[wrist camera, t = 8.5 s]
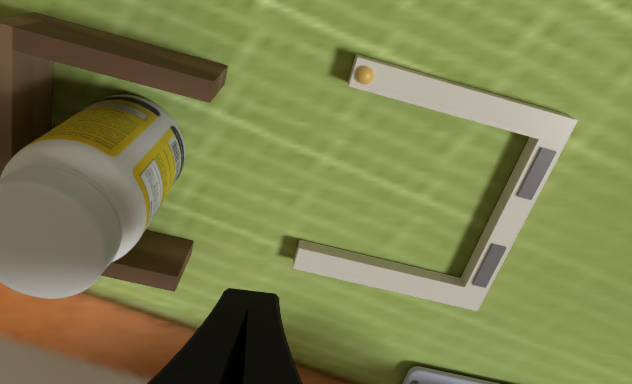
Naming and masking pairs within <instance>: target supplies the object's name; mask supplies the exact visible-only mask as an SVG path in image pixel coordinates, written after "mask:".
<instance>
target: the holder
mask: <svg viewBox="0 0 632 384" xmlns="http://www.w3.org/2000/svg"><path fill="white" fill-rule="evenodd" d="M54 61H55V62H59V63H63V64H66V65H70V66H74V67H78V68H81V69H85V70H89V71H93V72H97V73H100V74H104V75H108V76H112V77H115V78H119V79H123V80H127V81H130V82H134V83H138V84H142V85H145V86H149V87H153V88H157V89H160V90H164V91H168V92H172V93H175V94H179V95H183V96H187V97H190V98H194V99H198V100H202V101H205V102H209V103H210V102H211V101H212V99H213V98H214V97H215V96H216V94H217V93H218V92H219V91H220V89H221V88H222V87H223V85H224V83H225V78H226V73H227V68H228V66H226V65H222V64H219V63H215V62H211V61H208V60H204V59H201V58H197V57H193V56H190V55H186V54H182V53H179V52H175V51H172V50H168V49H164V48H161V47H157V46H153V45H150V44H146V43H143V42H139V41H135V40H132V39H128V38H125V37H121V36H117V35H114V34H110V33H106V32H103V31H99V30H96V29H92V28H88V27H85V26H81V25H77V24H74V23H70V22H67V21H63V20H59V19H56V18H52V17H48V16H45V15H41V14H38V13H30V14H24V15H18V16H12V17H6V18H0V177H1V174H2V172H3V170H4V168H5V166H6V165H7V163H8V162H9V161H10V160H11V159H12V157H13V156H14V155H15V154H17V153H18V152H19V151H20V150H21V149H23V148H24V147H25V146H27V145H28V144H30V143H32V142H33V141H35V140H36V139H38V138H40V137H41V136H43V135H44V134H46V133H47V132H49V131H51V111H52V88H53V65H54ZM192 247H193V241H190V240H185V239H181V238H177V237H173V236H168V235H164V234H160V233H155V232H151V231H147V230H145V231H144V233H143V235H142V236H141V238H140V239H139V241H138V242H137V243H136V244H135V246H134V247H133V248H132V249H131V250H130V251H129V252H128V253H127V254H125V255H124V256H123V257H121V258H119V259H118V260H116V261H114V262H111V263H110V264H109V266H108V267H107V268H106V269H105V270H104V272H103V273H102V274H101V276H106V277H111V278H115V279H120V280H124V281H129V282H133V283H138V284H142V285H147V286H152V287H156V288H161V289H165V290H170V291H174V292H175V290H176V288H177V285H178V283H179V281H180V279H181V276H182V274H183V272H184V269H185V267H186V265H187V262H188V260H189V258H190V256H191V252H192Z"/></svg>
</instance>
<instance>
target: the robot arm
mask: <svg viewBox="0 0 632 384" xmlns="http://www.w3.org/2000/svg"><path fill="white" fill-rule="evenodd" d="M412 381H415V382H412ZM147 384H302V382H301V379H300V377H299V374H298V372H297V369H296V367H295V364H294V361H293V358H292V356H291V352H290V349H289V346H288V343H287V340H286V336H285V333H284V329H283V324H282V320H281V314H280V307H279V297H278V296H277V295H276V294H273V293H265V292H256V291H248V290H240V289H231V288H228V289H227V290H225V291H224V292H223V294H222V296H221V298H220V299H219V301H218V303H217V304H216V306H215V307H214V309H213V310H212V312H211V313H210V314H209V316H208V317H207V318H206V320H205V321H204V322H203V324H202V325H201V326H200V327H199V329H198V330H197V331H196V332H195V333H194V335H193V336H192V337H191V338H190V340H189V341H188V342H187V343H186V344H185V345H184V346H183V348H182V349H181V350H180V351H179V352H178V353H177V354H176V355H175V356H174V357H173V358H172V359H171V361H170V362H169V363H168V364H167V365H166V366H165V367H164V368H163V369H162V370H161V371H160V372H159V373H158V374H157V375H156V376H155V377H154V378H153V379H152V380H150V381H149V382H148V383H147ZM402 384H499V383H495V382H490V381H485V380H481V379H476V378H471V377H467V376H462V375H457V374H453V373H448V372H443V371H439V370H434V369H429V368H425V367H420V366H415V367H412V368H410V369H409V371H408V372H407V375H406V377H405V379H404V381H403V383H402Z"/></svg>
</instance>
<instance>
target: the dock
mask: <svg viewBox="0 0 632 384" xmlns="http://www.w3.org/2000/svg"><path fill="white" fill-rule="evenodd" d="M348 85H349V86H350V87H353V88H357V89H360V90H364V91H368V92H371V93H375V94H378V95H382V96H385V97H389V98H393V99H396V100H400V101H403V102H407V103H411V104H414V105H418V106H421V107H425V108H428V109H432V110H436V111H439V112H443V113H446V114H450V115H453V116H457V117H461V118H464V119H468V120H471V121H475V122H479V123H482V124H486V125H489V126H493V127H496V128H500V129H504V130H507V131H511V132H514V133H518V134H521V135H525V136H529V139H528V141H527V143H526V145H525V147H524V149H523V151H522V153H521V155H520V157H519V159H518V162H517V164H516V166H515V168H514V170H513V172H512V174H511V176H510V178H509V180H508V182H507V184H506V186H505V188H504V190H503V192H502V194H501V196H500V198H499V200H498V202H497V204H496V206H495V208H494V211H493V213H492V215H491V217H490V219H489V221H488V223H487V225H486V227H485V229H484V231H483V233H482V235H481V237H480V239H479V241H478V243H477V245H476V247H475V249H474V251H473V253H472V255H471V258H470V260H469V262H468V264H467V266H466V268H465V270H464V272H463V274H462V276H461V278H459V277H455V276H451V275H446V274H442V273H438V272H434V271H430V270H425V269H421V268H417V267H413V266H409V265H405V264H400V263H396V262H392V261H388V260H384V259H379V258H375V257H371V256H367V255H363V254H358V253H354V252H350V251H346V250H342V249H337V248H333V247H329V246H325V245H321V244H316V243H312V242H308V241H304V240H299V243H298V246H297V250H296V253H295V256H294V260H293V269H297V270H302V271H306V272H310V273H315V274H319V275H323V276H328V277H332V278H336V279H341V280H345V281H349V282H353V283H358V284H362V285H366V286H371V287H375V288H379V289H384V290H388V291H392V292H397V293H401V294H405V295H410V296H414V297H418V298H423V299H427V300H431V301H436V302H440V303H444V304H449V305H453V306H457V307H462V308H466V309H470V310H475V311H478V309H479V307H480V306H481V304H482V302H483V300H484V298H485V296H486V294H487V292H488V290H489V288H490V287H491V285H492V283H493V281H494V279H495V277H496V275H497V273H498V271H499V269H500V268H501V266H502V264H503V262H504V260H505V258H506V256H507V254H508V252H509V250H510V249H511V247H512V245H513V243H514V241H515V239H516V237H517V235H518V233H519V231H520V230H521V228H522V226H523V224H524V222H525V220H526V218H527V216H528V214H529V212H530V211H531V209H532V207H533V205H534V203H535V201H536V199H537V197H538V195H539V193H540V192H541V190H542V188H543V186H544V184H545V182H546V180H547V178H548V176H549V174H550V173H551V171H552V169H553V167H554V165H555V163H556V161H557V159H558V157H559V155H560V154H561V152H562V150H563V148H564V146H565V144H566V142H567V140H568V138H569V136H570V135H571V133H572V131H573V129H574V127H575V125H576V123H577V121H578V120H576V119H575V118H573V117H571V116H570V115H567V114H563V113H560V112H556V111H553V110H549V109H546V108H543V107H539V106H536V105H532V104H529V103H525V102H522V101H518V100H515V99H511V98H508V97H504V96H501V95H497V94H494V93H490V92H487V91H483V90H480V89H477V88H473V87H470V86H466V85H463V84H459V83H456V82H452V81H449V80H445V79H442V78H438V77H435V76H431V75H428V74H424V73H421V72H418V71H414V70H411V69H407V68H404V67H400V66H397V65H393V64H390V63H386V62H383V61H379V60H376V59H372V58H369V57H365V56H362V55H358V54H356V56H355V59H354V62H353V66H352V69H351V72H350V76H349V79H348Z"/></svg>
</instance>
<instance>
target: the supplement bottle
mask: <svg viewBox="0 0 632 384" xmlns="http://www.w3.org/2000/svg"><path fill="white" fill-rule="evenodd" d="M184 162H185V143H184V139H183V136H182V134H181V131H180V129H179V128H178V126H177V124H176V123H175V121H174V120H173V119H172V118H171V117H170V116H169V115H168V114H167V113H166V112H165V111H164V110H163V109H161V108H160V107H159V106H157V105H156V104H154V103H153V102H151V101H149V100H147V99H144V98H141V97H138V96H134V95H112V96H108V97H105V98H102V99H100V100H98V101H96V102H94V103H93V104H91V105H89V106H88V107H86V108H85V109H83V110H82V111H80V112H79V113H77V114H76V115H74V116H72V117H71V118H69V119H68V120H66V121H65V122H63V123H61V124H60V125H58V126H57V127H55V128H54V129H52V130H51V131H49V132H47V133H46V134H44V135H43V136H41V137H40V138H38V139H36V140H35V141H33V142H32V143H30V144H28V145H27V146H25V147H24V148H23V149H21V150H20V151H19V152H18V153H17V154H15V155H14V156H13V157H12V159H11V160H10V161H9V162H8V163H7V165H6V166H5V168H4V170H3V172H2V174H1V177H0V282H1V283H2V284H4V285H5V286H7V287H9V288H11V289H13V290H15V291H18V292H20V293H23V294H26V295H30V296H35V297H40V298H64V297H69V296H73V295H75V294H78V293H80V292H82V291H84V290H86V289H87V288H89V287H90V286H91V285H93V284H94V283H95V282H96V281H97V280H98V278H99V277H100V276H101V274H102V273H103V272H104V270H105V269H106V268H107V267H108V266H109V264H110V263H111V262H114V261H116V260H118V259H119V258H121V257H123V256H124V255H125V254H127V253H128V252H129V251H130V250H131V249H132V248H133V247H134V246H135V244H136V243H137V242H138V241H139V239H140V238H141V236H142V235H143V233H144V231H145V230H146V228H147V227H148V225H149V223H150V222H151V220H152V219H153V217H154V215H155V214H156V212H157V210H158V209H159V207H160V206H161V204H162V203H163V201H164V199H165V198H166V196H167V195H168V193H169V192H170V190H171V188H172V187H173V185H174V183H175V181H176V180H177V179H178V177H179V175H180V173H181V171H182V169H183V166H184Z"/></svg>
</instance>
